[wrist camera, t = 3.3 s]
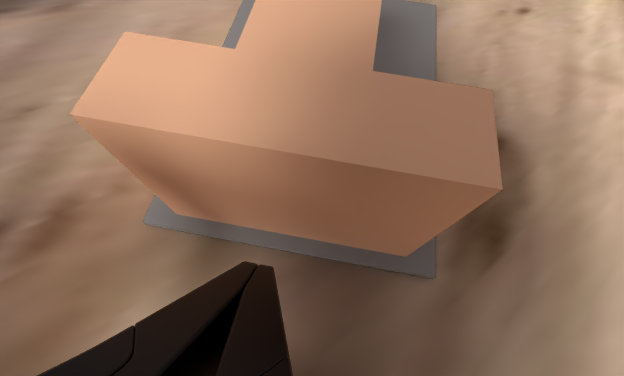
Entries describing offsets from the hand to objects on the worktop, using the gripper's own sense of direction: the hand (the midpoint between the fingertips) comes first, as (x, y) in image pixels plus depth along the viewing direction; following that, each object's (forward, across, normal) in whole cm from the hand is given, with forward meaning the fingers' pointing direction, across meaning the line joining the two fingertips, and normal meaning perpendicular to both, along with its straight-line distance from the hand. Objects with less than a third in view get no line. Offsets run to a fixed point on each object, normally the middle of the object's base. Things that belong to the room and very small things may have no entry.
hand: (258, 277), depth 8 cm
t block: (+11, 0, -2) cm, 11 cm away
